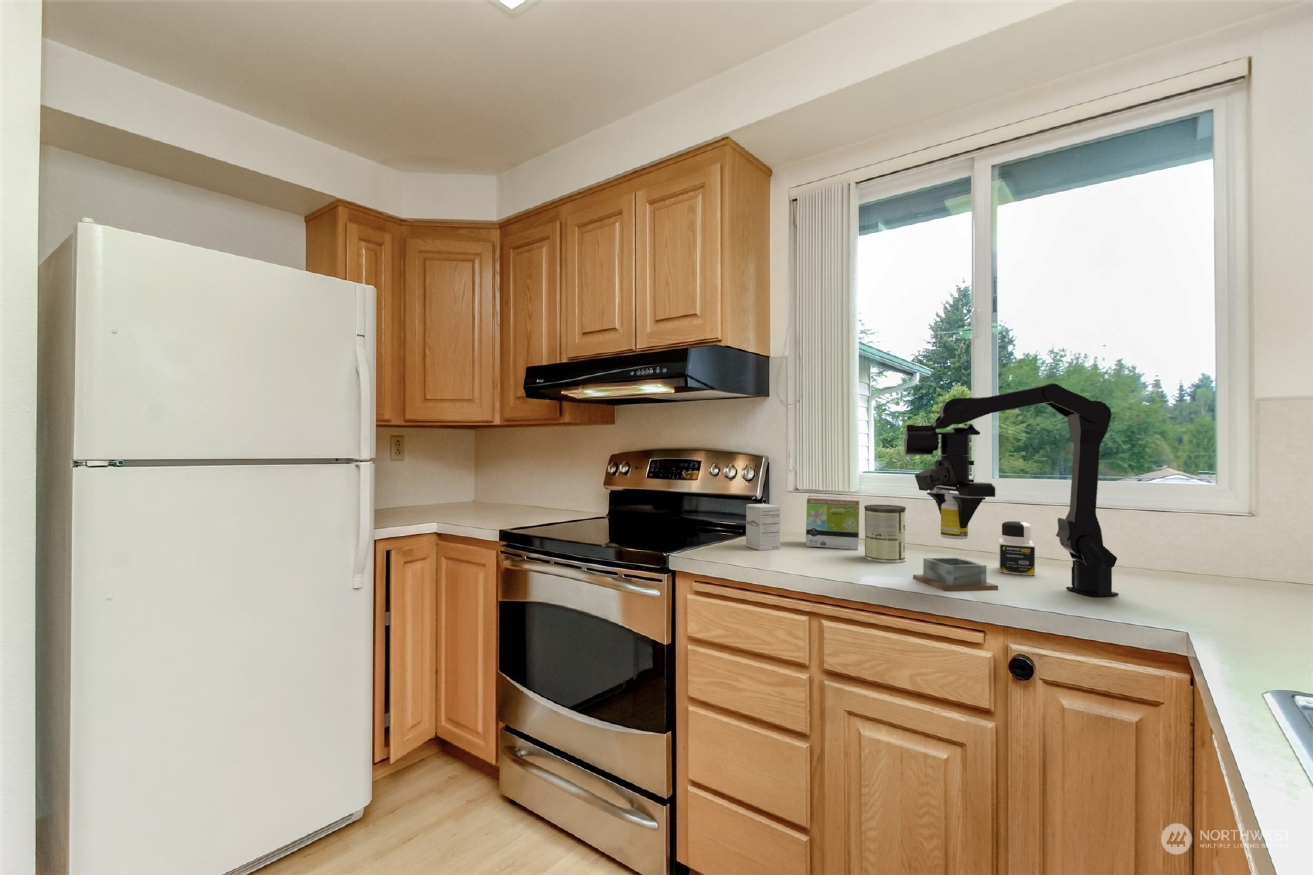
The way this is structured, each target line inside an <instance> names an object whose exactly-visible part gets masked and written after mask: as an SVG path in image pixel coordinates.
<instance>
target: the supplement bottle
mask: <svg viewBox="0 0 1313 875" xmlns="http://www.w3.org/2000/svg"><path fill="white" fill-rule="evenodd" d="M952 496H960V495H959V493H958V492H950V493H945V500H946V502H945V503H943V504H942V505H941V515H940V537H941V538H942V539H943V538H944V539H949V540H961V541H962V540H967V539H968V538H969V524H968V525H967V527H966V528H960V523H959V513H958V504H957V502H956V501H955V500H954V499H953V497H952Z"/></svg>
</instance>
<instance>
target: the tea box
mask: <svg viewBox="0 0 1313 875" xmlns="http://www.w3.org/2000/svg"><path fill="white" fill-rule="evenodd" d="M805 524H806V525H805V546H806V548H808V547H815V548H827V549H828V548H830V549H838V550H839V549H840V550H852V551H858V550H859V544H860V543H859V542H860V539H859V538H860V500H859V497H851V496H850V497H848V496H831V495H830V496H826V495H808V497H807V498H806V522H805Z"/></svg>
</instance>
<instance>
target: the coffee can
mask: <svg viewBox="0 0 1313 875" xmlns="http://www.w3.org/2000/svg"><path fill="white" fill-rule="evenodd" d="M863 508H864V559H865V560H867V561H872V562H876V563H884V564H885V563H886V564H888V563H889V564H895V563H896V564H898V563H904V562H906V508H907V507H906V506H902V505H896V504H895V505H894V504H867V505H864V506H863Z"/></svg>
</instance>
